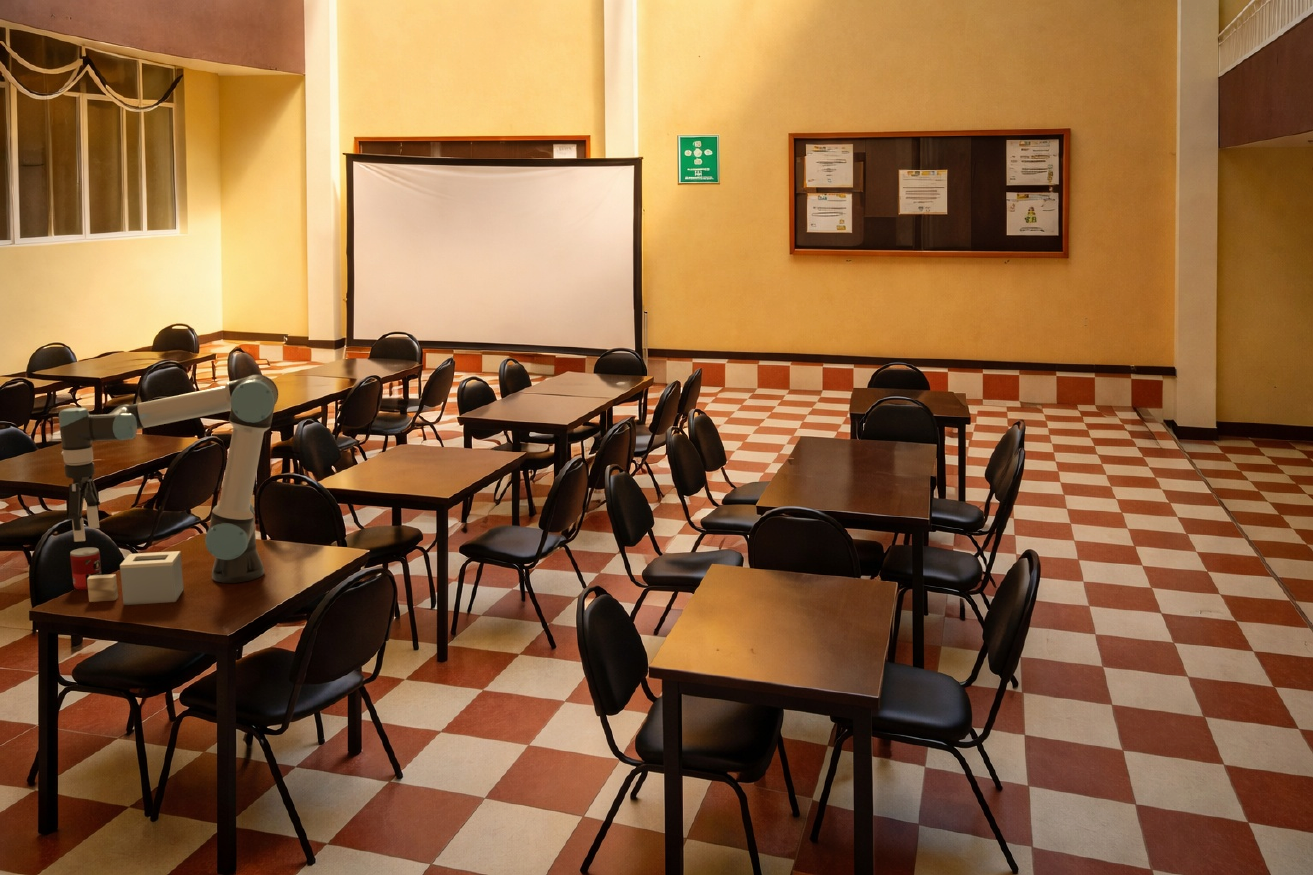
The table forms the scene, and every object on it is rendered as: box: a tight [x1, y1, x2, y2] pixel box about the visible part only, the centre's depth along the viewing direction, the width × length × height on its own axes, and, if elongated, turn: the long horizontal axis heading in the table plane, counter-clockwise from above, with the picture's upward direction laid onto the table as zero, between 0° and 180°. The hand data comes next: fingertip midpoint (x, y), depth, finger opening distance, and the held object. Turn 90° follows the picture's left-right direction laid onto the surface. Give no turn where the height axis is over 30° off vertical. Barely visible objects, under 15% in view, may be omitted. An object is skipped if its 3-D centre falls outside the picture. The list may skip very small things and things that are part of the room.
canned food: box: [69, 546, 102, 591], centre depth 330 cm, size 8×8×11 cm
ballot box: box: [119, 550, 184, 606], centre depth 320 cm, size 14×11×12 cm
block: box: [87, 573, 119, 603], centre depth 318 cm, size 7×3×7 cm, turn 102°
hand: (87, 534), depth 315 cm, fingers open, 13 cm apart
